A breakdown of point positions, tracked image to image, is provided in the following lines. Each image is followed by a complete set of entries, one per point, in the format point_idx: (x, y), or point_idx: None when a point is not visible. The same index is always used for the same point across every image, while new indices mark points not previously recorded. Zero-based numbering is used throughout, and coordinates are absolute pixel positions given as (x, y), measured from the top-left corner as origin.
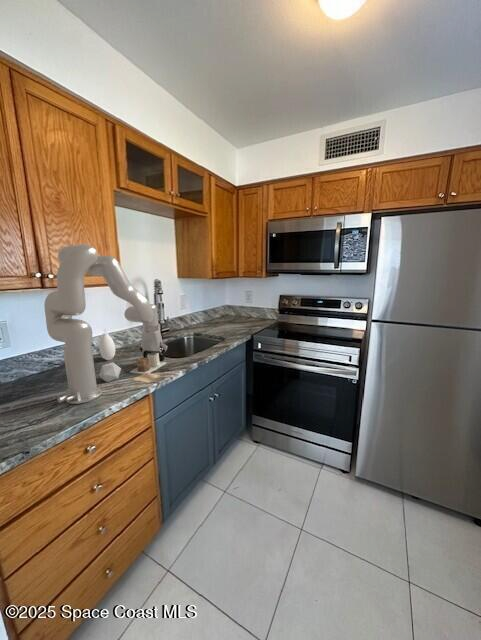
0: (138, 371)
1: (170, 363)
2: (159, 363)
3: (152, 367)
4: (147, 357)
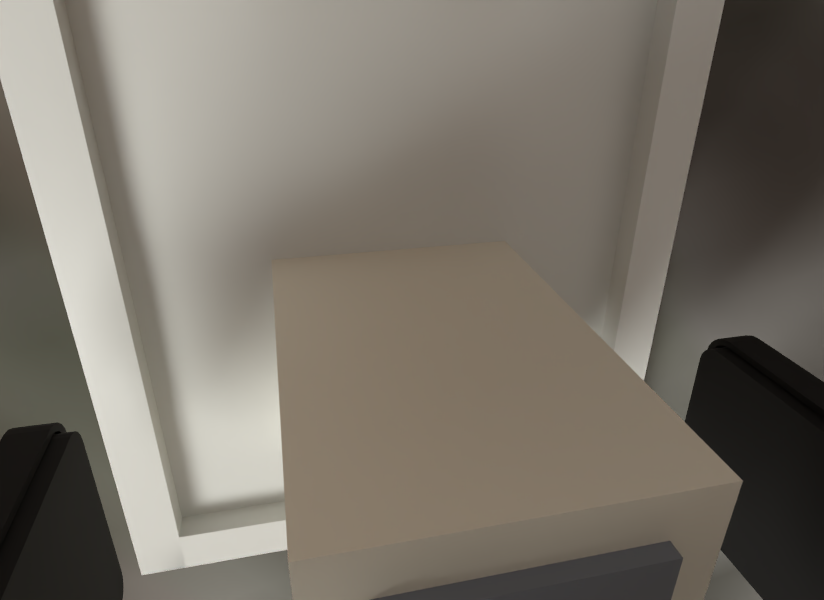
0: None
1: None
2: None
3: (291, 176)
4: None
